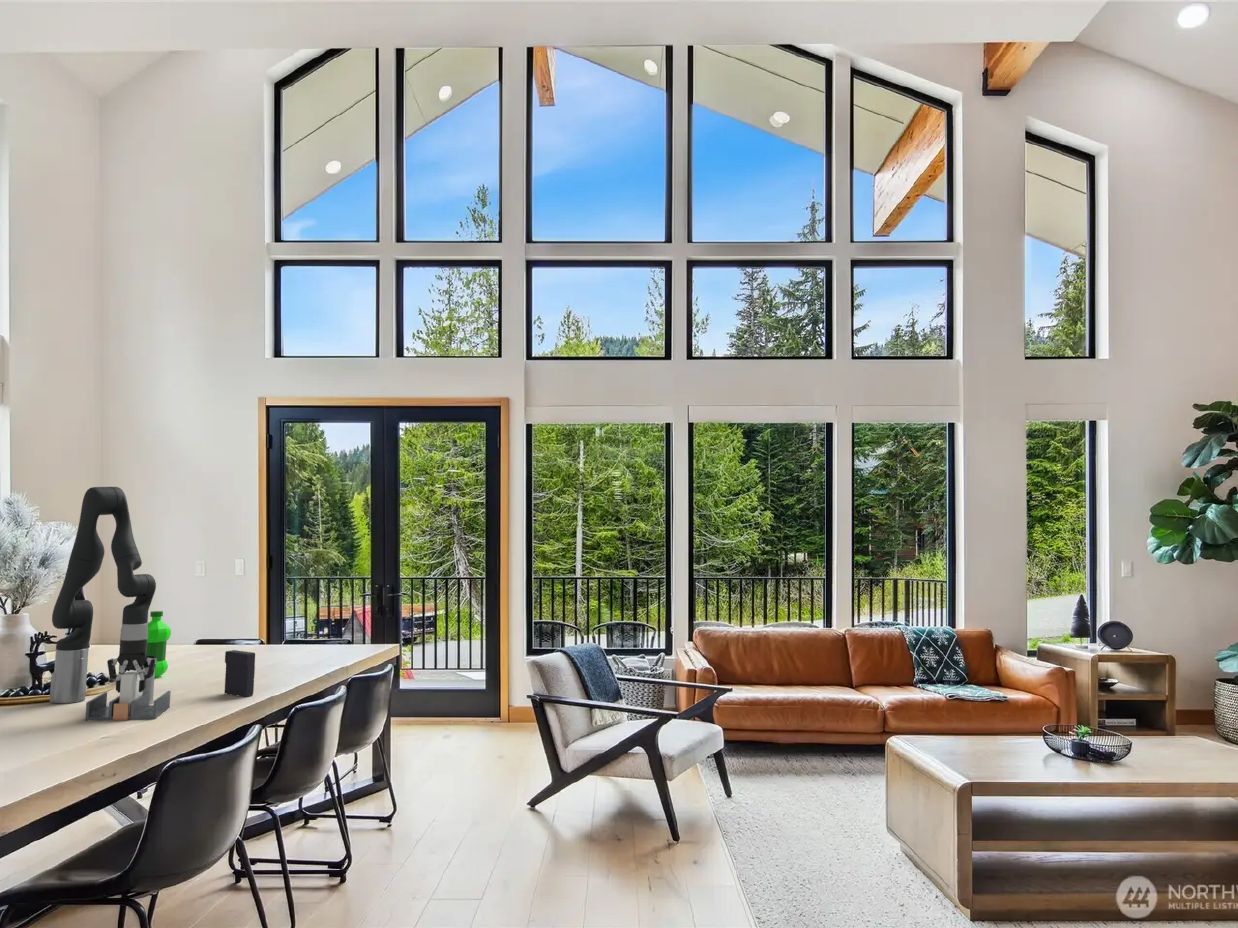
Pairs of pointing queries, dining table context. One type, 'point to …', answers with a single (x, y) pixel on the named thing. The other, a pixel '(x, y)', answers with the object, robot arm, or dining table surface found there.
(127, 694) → the panel
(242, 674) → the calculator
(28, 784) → the dining table surface
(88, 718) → the rack
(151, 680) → the tall mug
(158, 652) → the plastic bottle
